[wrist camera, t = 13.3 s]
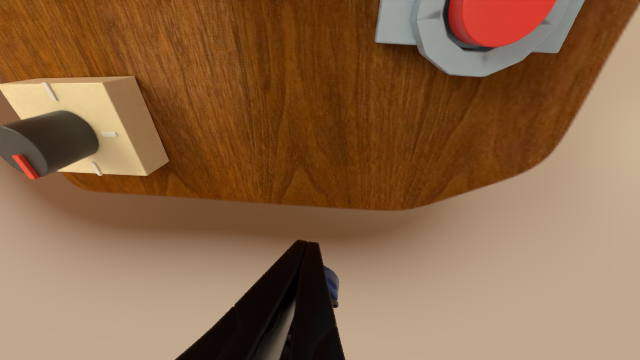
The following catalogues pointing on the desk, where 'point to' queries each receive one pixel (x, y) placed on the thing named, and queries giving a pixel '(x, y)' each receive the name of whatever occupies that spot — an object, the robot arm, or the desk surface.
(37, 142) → the dial knob
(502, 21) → the red push button
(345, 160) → the desk surface
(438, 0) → the button box
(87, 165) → the dial panel
